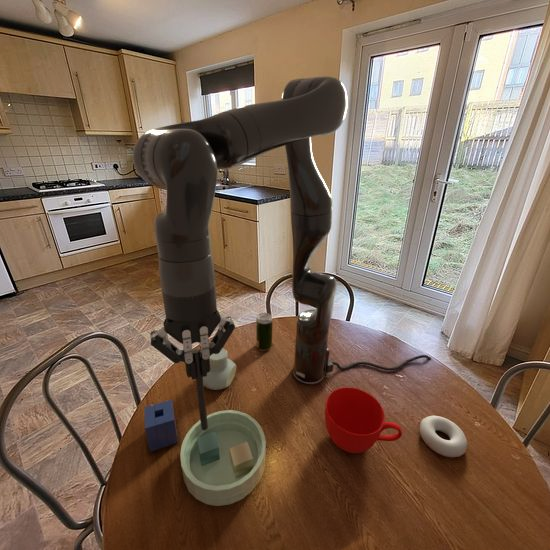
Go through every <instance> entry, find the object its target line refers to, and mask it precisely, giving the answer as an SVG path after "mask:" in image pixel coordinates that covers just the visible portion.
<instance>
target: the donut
mask: <svg viewBox="0 0 550 550" xmlns="http://www.w3.org/2000/svg"><path fill="white" fill-rule="evenodd" d="M436 431H437V432H442V433H444V434H445V435H447V437H448V438H449V439H444V438H442V437H440V436H439V435H438V434H437V432H436ZM419 433H420V437H421V439H422V440H423V442H424V443H425V445H427V447H429V448H430V449H431V450H432V451H434V452H435V453H436V454H438V455H441V456H443V457H448V458H456V457H462V456H463V455H464V454H465V453H466V451H467V448H468V440H467V438H466V435H465V433H464V431H463V430H462V429H461V428H460V427H459V426H458V425H457V424H456V423H455V422H453V421H452V420H450V419H449V418H446V417H443V416H440V415H428V416H426V417H424V418H422V420H421V421H420V423H419Z"/></svg>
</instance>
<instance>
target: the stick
mask: <svg viewBox="0 0 550 550" xmlns="http://www.w3.org/2000/svg"><path fill="white" fill-rule="evenodd" d="M192 354H193V359H194V363H195V371H196V379H195V386H196V394H197V395H196V397H197V403H198V411H199V412H198V413H199V420H200V421H201V429H202V430H207V428H208V423H207V403H206V395H205V386H204V385H203V376H202V368H201V359H200V348H194V349H192Z"/></svg>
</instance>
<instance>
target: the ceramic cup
mask: <svg viewBox="0 0 550 550" xmlns="http://www.w3.org/2000/svg"><path fill="white" fill-rule="evenodd" d="M385 414H386V413H385V411H384V408H383V406H382V405H381V403H380V402H379V400H377V398H375V397H374V396H373V395H371V394H370V393H369V392H366V391H365V390H362V389H360V388H355V387H349V386H347V387H346V386H345V387H340V388H337V389H335V390H333V391H332V392H330V393H329V395H328V396H327V398H326V400H325V405H324V422H325V427H326V431H327V433H328V436H329V438H330V440H331V441H332V442H333V443H334V444H335V445H336V446H337V447H338V448H339V449H340V450H342V451H345V452H347V453H351V454H361V453H364V452H366V451H368V450H370V449H371V448H372V447H373V446H374V445H375V444H376V443H377V441H379V442H394V441H398V440H399V439H400V438H401V437H402V435H403V429H402V427H401V426H400V424H397V423H396V422H391V421H386V415H385ZM387 429H393V430H396V431H397V432H396V433H394V434H390V435H388V434H382V432H383V431H385V430H387Z"/></svg>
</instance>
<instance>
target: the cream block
mask: <svg viewBox="0 0 550 550" xmlns="http://www.w3.org/2000/svg"><path fill="white" fill-rule="evenodd" d="M229 450H230V462H231V465H232V469H233V472H234V476H235V478H236V477H239V476H241V475H244V474H246V473H249V472H250V471H251V470H252V469H253V457H252V454H251V451H250V448H249V445H248V442H246V443H243V444H240V445H238V446H235V447H232V448H230V449H229Z"/></svg>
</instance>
